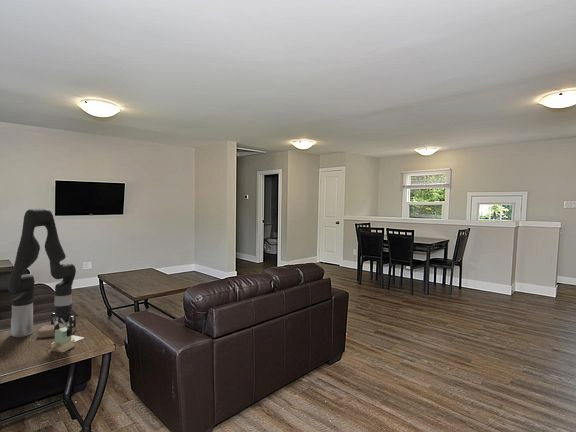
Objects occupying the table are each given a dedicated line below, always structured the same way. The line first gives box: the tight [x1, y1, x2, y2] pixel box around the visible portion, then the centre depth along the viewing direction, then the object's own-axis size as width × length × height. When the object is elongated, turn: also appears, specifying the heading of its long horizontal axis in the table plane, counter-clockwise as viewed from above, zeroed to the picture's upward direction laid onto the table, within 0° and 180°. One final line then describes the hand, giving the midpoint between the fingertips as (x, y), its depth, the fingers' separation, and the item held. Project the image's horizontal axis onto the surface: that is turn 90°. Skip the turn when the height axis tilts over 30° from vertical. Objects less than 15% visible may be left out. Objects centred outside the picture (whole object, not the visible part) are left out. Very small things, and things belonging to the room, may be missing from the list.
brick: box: [37, 323, 77, 339], centre depth 188 cm, size 17×8×5 cm, turn 108°
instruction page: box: [71, 334, 85, 343], centre depth 180 cm, size 9×9×1 cm
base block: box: [50, 339, 76, 353], centre depth 170 cm, size 7×7×4 cm
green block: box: [54, 327, 71, 344], centre depth 170 cm, size 5×5×6 cm
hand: (63, 334), depth 170 cm, fingers open, 8 cm apart
